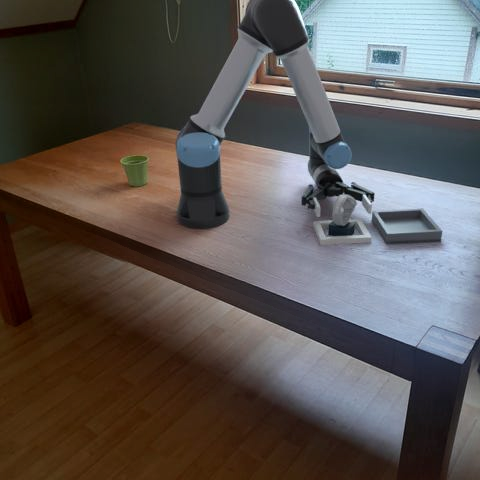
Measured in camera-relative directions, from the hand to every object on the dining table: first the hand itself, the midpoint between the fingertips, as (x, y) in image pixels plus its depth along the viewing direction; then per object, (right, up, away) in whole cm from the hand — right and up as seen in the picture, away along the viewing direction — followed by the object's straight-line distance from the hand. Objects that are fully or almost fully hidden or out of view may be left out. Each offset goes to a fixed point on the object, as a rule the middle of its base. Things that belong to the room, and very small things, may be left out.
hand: (344, 210), depth 135 cm
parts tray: (+16, -5, +2) cm, 17 cm away
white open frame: (0, -6, +2) cm, 6 cm away
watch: (0, -6, +2) cm, 7 cm away
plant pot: (-62, +11, +41) cm, 75 cm away
